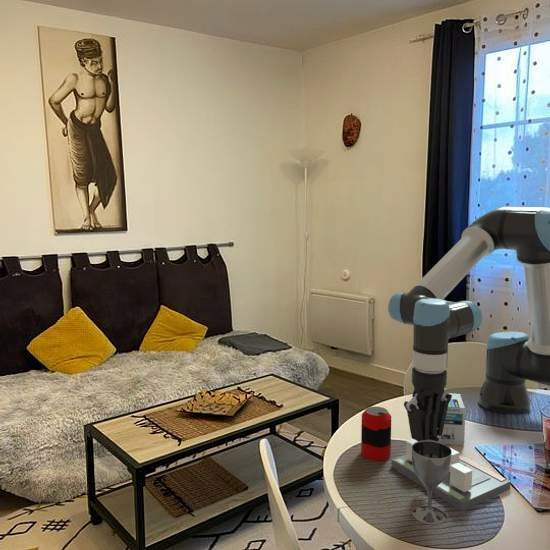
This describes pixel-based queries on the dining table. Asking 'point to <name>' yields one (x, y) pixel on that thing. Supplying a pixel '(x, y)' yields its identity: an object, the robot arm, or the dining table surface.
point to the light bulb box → (454, 422)
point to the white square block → (454, 457)
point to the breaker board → (482, 489)
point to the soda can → (376, 434)
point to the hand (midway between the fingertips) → (425, 466)
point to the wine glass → (430, 476)
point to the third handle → (461, 477)
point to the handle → (409, 448)
